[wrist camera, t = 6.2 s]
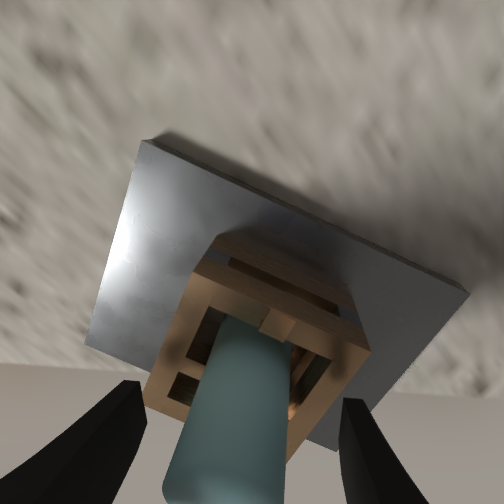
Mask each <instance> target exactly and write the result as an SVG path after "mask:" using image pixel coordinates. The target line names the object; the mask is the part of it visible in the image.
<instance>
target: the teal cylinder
mask: <svg viewBox="0 0 504 504" xmlns="http://www.w3.org/2000/svg"><path fill="white" fill-rule="evenodd" d="M258 330H259V328H258V327H255V326H253V325H251V324H249V323H246V322H244V321H242V320H240V319H237V318H235V317H233V316H231V315H228V314H226V313H225V315H224V317H223V320H222V323H221V325H220V328H219V331H218V334H217V336H216V339H215V342H214V345H213V347H212V350H211V353H210V356H209V358H208V361H207V364H206V366H205V369H204V372H203V375H202V377H201V380H200V383H199V386H198V388H197V391H196V394H195V397H194V399H193V402H192V405H191V407H190V410H189V413H188V416H187V418H186V421H185V424H184V427H183V429H182V432H181V435H180V438H179V440H178V443H177V446H176V449H175V451H174V454H173V457H172V460H171V462H170V465H169V468H168V470H167V473H166V476H165V479H164V481H163V485H162V492H163V495H164V498H165V500H166V502H167V503H168V504H284V489H285V469H286V466H285V465H286V448H287V428H288V407H289V387H290V367H291V346H292V343H291V342H289V341H287V340H285V341H284V342H281V341H279V340H277V339H275V338H272V337H270V336H268V335H266V334H263V333H261V332H259V331H258Z"/></svg>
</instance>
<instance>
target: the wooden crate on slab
mask: <svg viewBox="0 0 504 504" xmlns="http://www.w3.org/2000/svg"><path fill="white" fill-rule="evenodd" d="M469 295H470V294H469V293H468V292H467V291H466V290H465V289H464V288H463V287H462V286H461V285H460V284H458V283H456V282H454V281H452V280H450V279H447V278H445V277H443V276H441V275H439V274H437V273H435V272H433V271H430V270H428V269H426V268H424V267H422V266H420V265H418V264H416V263H413V262H411V261H409V260H407V259H405V258H403V257H401V256H399V255H396V254H394V253H392V252H390V251H388V250H386V249H384V248H381V247H379V246H377V245H375V244H373V243H371V242H369V241H367V240H364V239H362V238H360V237H358V236H356V235H354V234H352V233H350V232H347V231H345V230H343V229H341V228H339V227H337V226H335V225H333V224H330V223H328V222H326V221H324V220H322V219H320V218H318V217H316V216H313V215H311V214H309V213H307V212H305V211H303V210H301V209H298V208H296V207H294V206H292V205H290V204H288V203H286V202H284V201H281V200H279V199H277V198H275V197H273V196H271V195H269V194H267V193H264V192H262V191H260V190H258V189H256V188H254V187H252V186H250V185H247V184H245V183H243V182H241V181H239V180H237V179H235V178H233V177H230V176H228V175H226V174H224V173H222V172H220V171H218V170H216V169H213V168H211V167H209V166H207V165H205V164H203V163H201V162H198V161H196V160H194V159H192V158H190V157H188V156H186V155H184V154H181V153H179V152H177V151H175V150H173V149H171V148H169V147H167V146H164V145H162V144H160V143H158V142H156V141H154V140H152V139H149V140H142V141H141V144H140V148H139V151H138V155H137V159H136V162H135V166H134V169H133V173H132V176H131V180H130V183H129V187H128V191H127V194H126V198H125V201H124V205H123V208H122V212H121V215H120V219H119V223H118V226H117V230H116V233H115V237H114V240H113V244H112V247H111V251H110V255H109V258H108V262H107V265H106V269H105V272H104V276H103V279H102V283H101V287H100V290H99V294H98V297H97V301H96V304H95V308H94V312H93V315H92V319H91V322H90V326H89V329H88V333H87V336H86V340H85V345H87V346H90V347H92V348H94V349H97V350H99V351H101V352H104V353H106V354H108V355H111V356H113V357H115V358H118V359H120V360H122V361H125V362H127V363H129V364H132V365H134V366H136V367H139V368H141V369H143V370H146V371H148V372H150V373H151V374H150V376H149V379H148V381H147V383H146V386H145V388H144V391H143V393H142V396H143V401H144V406H146V407H149V408H151V409H154V410H156V411H159V412H161V413H163V414H166V415H168V416H170V417H172V418H175V419H177V420H180V421H182V422H184V423H185V421H186V418H187V416H188V413H189V410H190V407H191V405H192V402H193V399H194V397H195V394H196V391H197V388H198V386H199V383H200V380H201V377H202V375H203V372H204V369H205V366H206V364H207V361H208V358H209V356H210V353H211V350H212V347H213V345H214V342H215V339H216V336H217V334H218V331H219V328H220V325H221V323H222V320H223V317H224V315H225V313H226V314H228V315H231V316H233V317H235V318H237V319H240V320H242V321H244V322H246V323H249V324H251V325H253V326H255V327H258V328H259V330H258V331H259V332H261V333H263V334H266V335H268V336H270V337H272V338H275V339H277V340H279V341H281V342H284V341H285V340H287V341H289V342H291V343H292V346H291V367H290V387H289V407H288V428H287V448H286V463H287V462H288V461H289V459H290V458H291V457H292V455H293V454H294V453H295V452H296V450H297V449H298V447H299V446H300V445H301V443H302V442H303V441H304V440H305V439H307V440H309V441H312V442H314V443H316V444H319V445H321V446H323V447H326V448H328V449H330V450H333V451H335V452H337V451H338V449H339V444H338V438H339V429H340V421H341V413H342V404H343V397H345V398H358V399H363V400H364V401H365V403H366V405H367V407H368V409H369V411H370V412H371V411H372V409H373V408H374V407H375V406H376V405H377V403H378V402H379V401H380V400H381V399H382V398H383V396H384V395H385V394H386V393H387V392H388V391H389V390H390V388H391V387H392V386H393V385H394V384H395V382H396V381H397V380H398V379H399V378H400V377H401V375H402V374H403V373H404V372H405V371H406V370H407V368H408V367H409V366H410V365H411V364H412V362H413V361H414V360H415V359H416V358H417V357H418V355H419V354H420V353H421V352H422V351H423V350H424V348H425V347H426V346H427V345H428V344H429V342H430V341H431V340H432V339H433V338H434V337H435V335H436V334H437V333H438V332H439V331H440V330H441V328H442V327H443V326H444V325H445V324H446V322H447V321H448V320H449V319H450V318H451V317H452V315H453V314H454V313H455V312H456V311H457V310H458V308H459V307H460V306H461V305H462V304H463V303H464V301H465V300H466V299H467V298H468V297H469Z"/></svg>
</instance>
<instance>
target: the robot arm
mask: <svg viewBox="0 0 504 504" xmlns="http://www.w3.org/2000/svg"><path fill="white" fill-rule="evenodd" d="M146 426H147V418H146V413H145V407H144V401H143V396H142V391H141V385H140V382H139V381H129V380H124V381H122V382H121V383H120V384H119V385H118V386H116V387H115V388H114V389H113V390H112V391H111V392H110V393H108V394H107V395H106V396H105V397H104V398H103V399H102V400H100V401H99V402H98V403H97V404H96V405H95V406H94V407H92V408H91V409H90V410H89V411H88V412H87V413H85V414H84V415H83V416H82V417H81V418H80V419H78V420H77V421H76V422H75V423H74V424H73V425H71V426H70V427H69V428H68V429H67V430H65V431H64V432H63V433H62V434H60V435H59V436H58V437H56V438H55V439H54V440H53V441H52V442H50V443H49V444H48V445H47V446H45V447H44V448H43V449H41V450H40V451H39V452H38V453H36V454H35V455H34V456H32V457H31V458H30V459H28V460H27V461H25V462H24V463H23V464H22V465H20V466H18V467H17V468H16V469H14V470H13V471H11V472H10V473H8V474H7V475H6V476H4V477H3V478H1V479H0V504H112V503H113V501H114V499H115V496H116V495H117V492H118V490H119V488H120V486H121V484H122V482H123V480H124V478H125V476H126V474H127V472H128V470H129V467H130V466H131V464H132V462H133V460H134V458H135V455H136V453H137V451H138V448H139V445H140V442H141V440H142V437H143V434H144V431H145V428H146ZM338 444H339V455H340V465H341V475H342V480H343V485H344V491H345V496H346V501H347V504H429V503H428V501H427V500H426V499H425V498H424V496H423V495H422V493H421V492H420V490H419V489H418V488H417V486H416V485H415V483H414V482H413V481H412V479H411V478H410V476H409V475H408V473H407V472H406V470H405V469H404V467H403V466H402V464H401V463H400V461H399V459H398V458H397V456H396V455H395V453H394V452H393V450H392V449H391V447H390V446H389V444H388V442H387V441H386V439H385V437H384V436H383V434H382V432H381V430H380V429H379V427H378V425H377V424H376V422H375V420H374V418H373V416H372V414H371V413H370V411H369V409H368V407H367V405H366V403H365V401H364V400H363V399H358V398H345V397H343V404H342V413H341V421H340V429H339V438H338Z"/></svg>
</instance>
